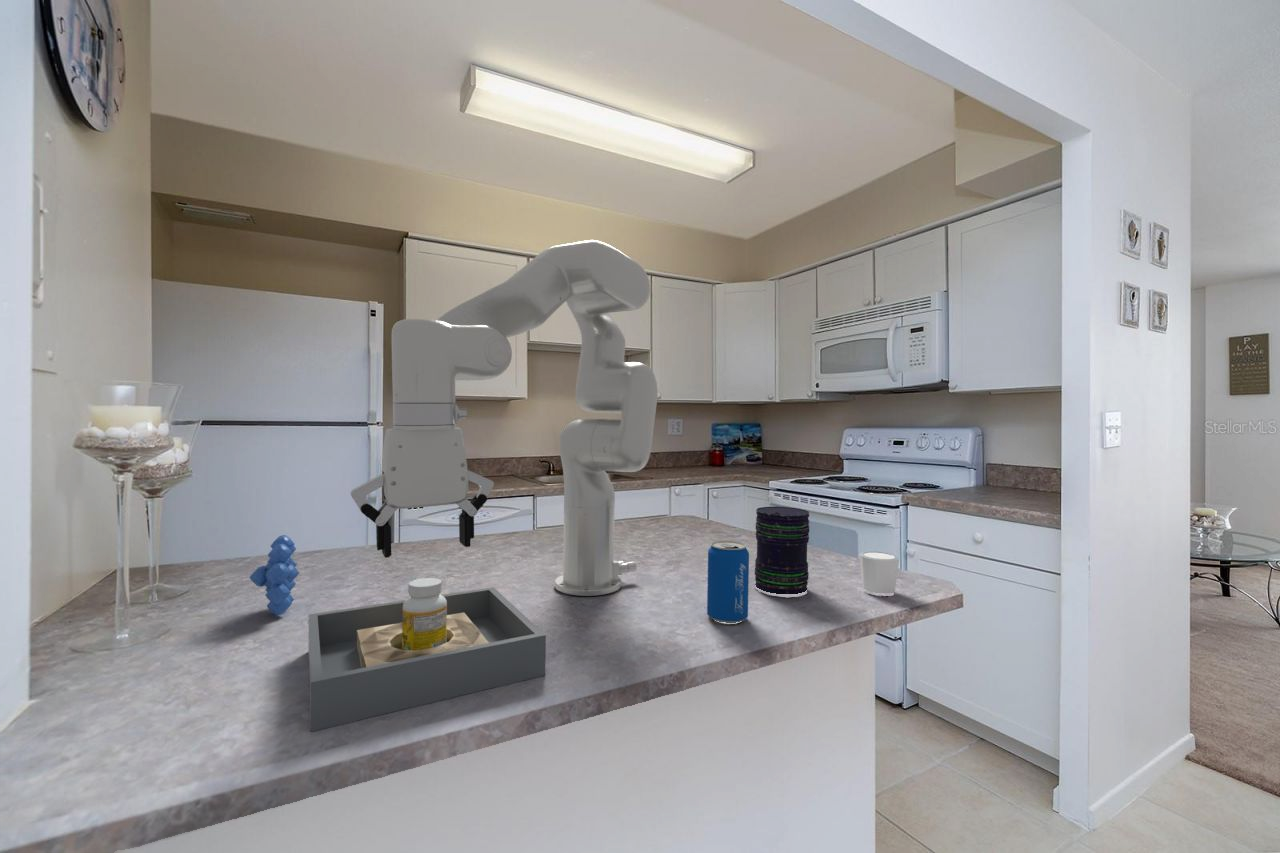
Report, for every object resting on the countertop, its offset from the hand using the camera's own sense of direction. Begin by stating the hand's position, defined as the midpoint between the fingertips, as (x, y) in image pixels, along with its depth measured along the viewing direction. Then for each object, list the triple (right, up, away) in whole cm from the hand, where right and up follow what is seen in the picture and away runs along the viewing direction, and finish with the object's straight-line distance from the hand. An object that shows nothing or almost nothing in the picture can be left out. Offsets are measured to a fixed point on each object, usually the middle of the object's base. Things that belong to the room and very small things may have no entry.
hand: (427, 549), depth 72 cm
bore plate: (0, -14, 0) cm, 14 cm away
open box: (0, -15, 0) cm, 15 cm away
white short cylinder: (+72, -15, +32) cm, 80 cm away
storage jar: (+54, -15, +33) cm, 65 cm away
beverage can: (+42, -15, +17) cm, 47 cm away
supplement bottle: (0, -14, 0) cm, 14 cm away
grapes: (-31, -14, +17) cm, 38 cm away
